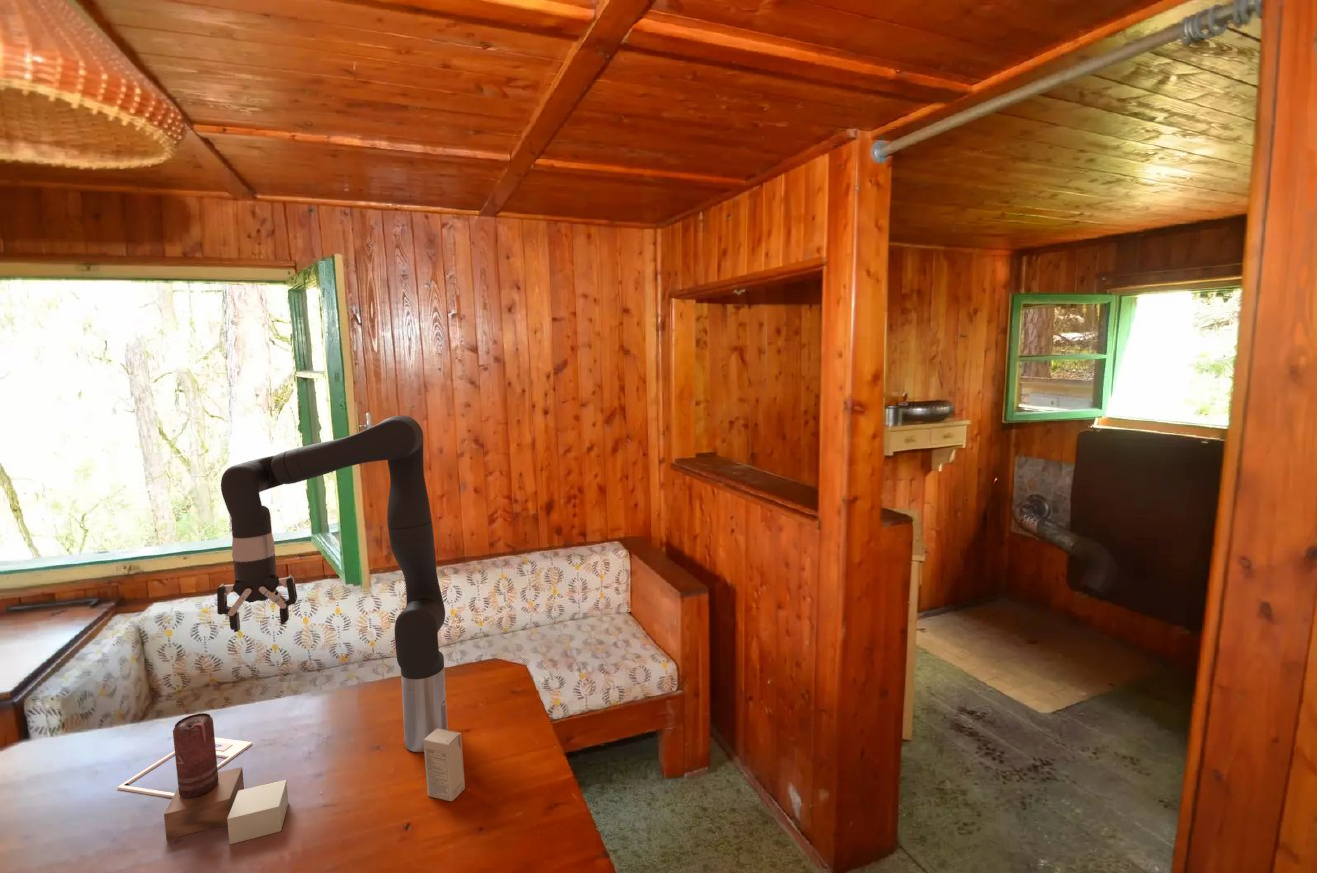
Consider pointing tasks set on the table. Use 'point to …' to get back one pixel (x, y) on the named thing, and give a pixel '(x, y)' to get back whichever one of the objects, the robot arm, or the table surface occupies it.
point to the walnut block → (204, 806)
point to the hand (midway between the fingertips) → (260, 627)
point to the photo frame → (223, 749)
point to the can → (195, 755)
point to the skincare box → (444, 764)
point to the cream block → (258, 811)
